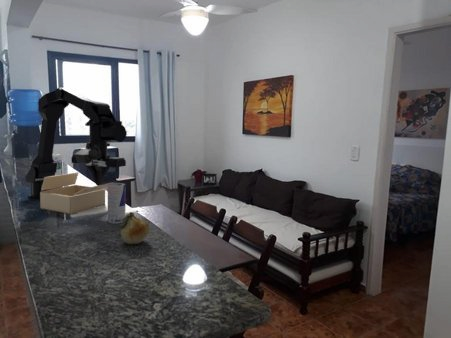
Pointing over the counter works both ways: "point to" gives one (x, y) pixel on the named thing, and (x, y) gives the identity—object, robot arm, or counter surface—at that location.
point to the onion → (133, 229)
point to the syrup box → (58, 163)
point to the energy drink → (116, 202)
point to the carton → (71, 199)
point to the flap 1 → (59, 181)
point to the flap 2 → (92, 189)
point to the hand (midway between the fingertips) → (98, 185)
